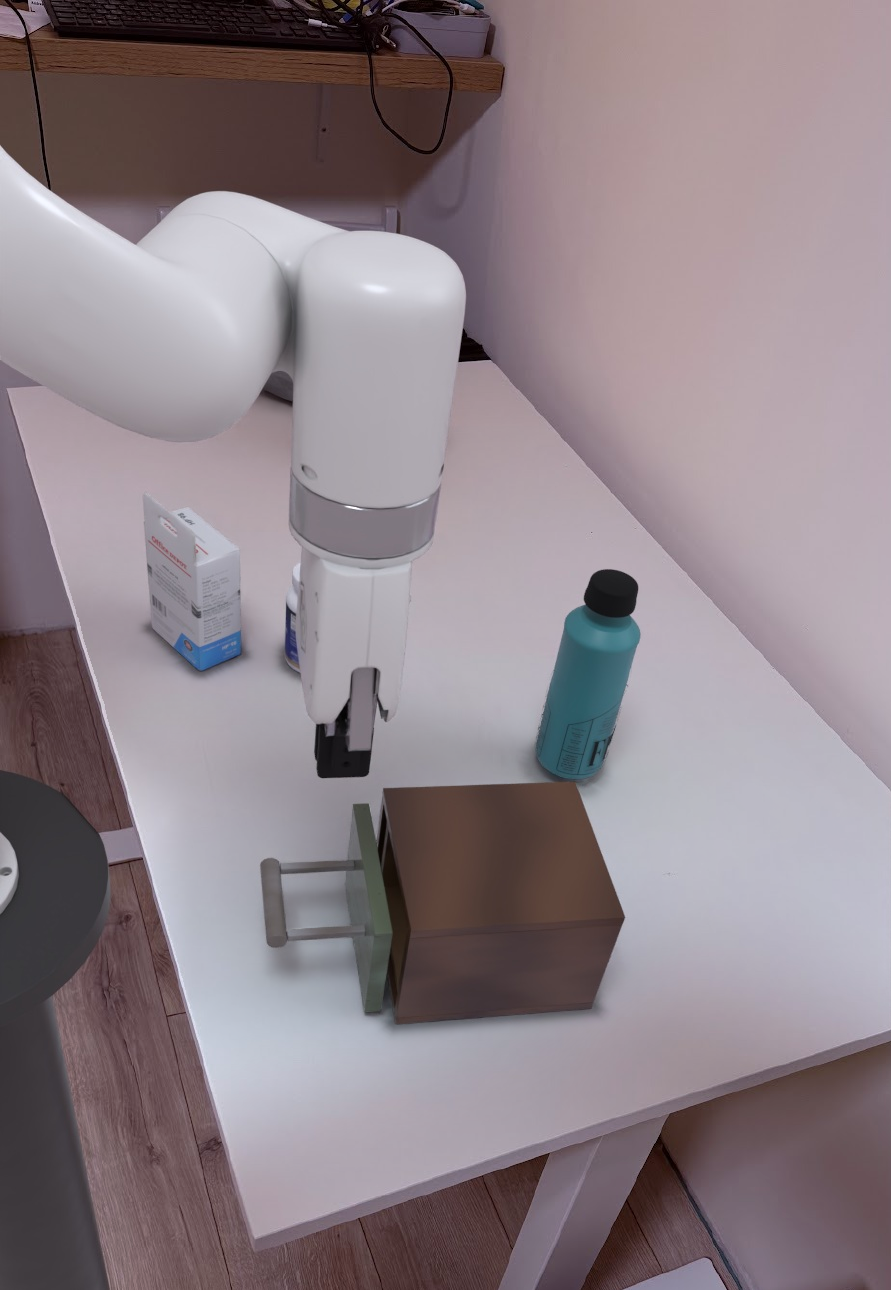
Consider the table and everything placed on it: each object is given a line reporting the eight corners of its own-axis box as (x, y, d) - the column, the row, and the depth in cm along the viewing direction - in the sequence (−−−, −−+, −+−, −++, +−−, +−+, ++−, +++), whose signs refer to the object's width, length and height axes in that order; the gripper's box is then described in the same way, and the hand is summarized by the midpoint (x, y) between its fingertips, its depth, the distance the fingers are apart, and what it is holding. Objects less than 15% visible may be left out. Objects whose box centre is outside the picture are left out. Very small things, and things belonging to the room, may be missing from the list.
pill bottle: (299, 634, 110) (303, 547, 103) (353, 652, 109) (360, 565, 102) (274, 667, 106) (276, 578, 99) (329, 685, 105) (335, 596, 98)
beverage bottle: (583, 804, 98) (640, 615, 84) (516, 772, 100) (560, 583, 86) (612, 763, 102) (670, 577, 88) (547, 733, 104) (594, 547, 90)
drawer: (267, 1020, 77) (270, 940, 71) (256, 888, 85) (258, 807, 79) (548, 998, 81) (573, 921, 75) (512, 874, 90) (532, 796, 84)
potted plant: (271, 334, 151) (379, 324, 148) (267, 425, 149) (375, 418, 146) (235, 284, 139) (351, 272, 136) (230, 382, 138) (347, 373, 134)
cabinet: (395, 1024, 79) (411, 930, 72) (370, 884, 88) (382, 787, 81) (591, 1009, 82) (625, 917, 75) (548, 874, 91) (575, 781, 84)
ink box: (243, 655, 106) (243, 518, 96) (199, 673, 104) (194, 534, 94) (193, 610, 111) (188, 474, 100) (149, 626, 108) (139, 488, 98)
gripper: (278, 428, 61) (271, 689, 74) (303, 589, 51) (290, 860, 64) (413, 433, 63) (383, 687, 76) (464, 590, 52) (420, 854, 65)
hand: (341, 765), depth 70 cm, fingers closed
